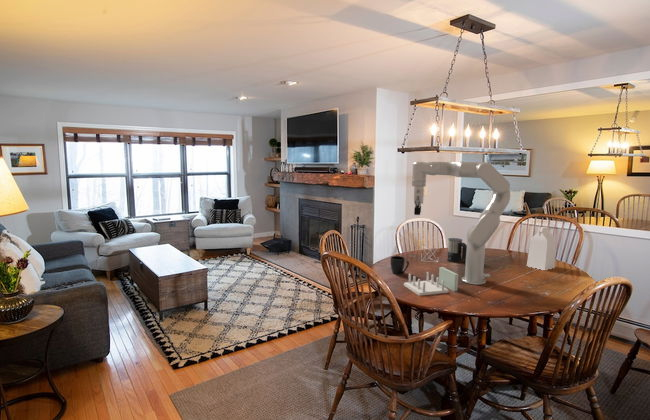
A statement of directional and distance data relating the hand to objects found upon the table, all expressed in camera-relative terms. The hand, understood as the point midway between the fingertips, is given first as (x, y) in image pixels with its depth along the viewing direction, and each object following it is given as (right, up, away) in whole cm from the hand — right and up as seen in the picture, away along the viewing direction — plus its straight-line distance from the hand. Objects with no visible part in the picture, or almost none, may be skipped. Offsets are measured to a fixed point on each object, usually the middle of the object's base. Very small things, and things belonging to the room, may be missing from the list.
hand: (417, 213), depth 218 cm
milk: (+85, -35, +26) cm, 95 cm away
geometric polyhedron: (+18, -32, +38) cm, 53 cm away
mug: (-9, -36, +8) cm, 38 cm away
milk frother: (+38, -32, +39) cm, 64 cm away
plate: (+13, -39, -14) cm, 44 cm away
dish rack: (0, -40, -17) cm, 43 cm away
